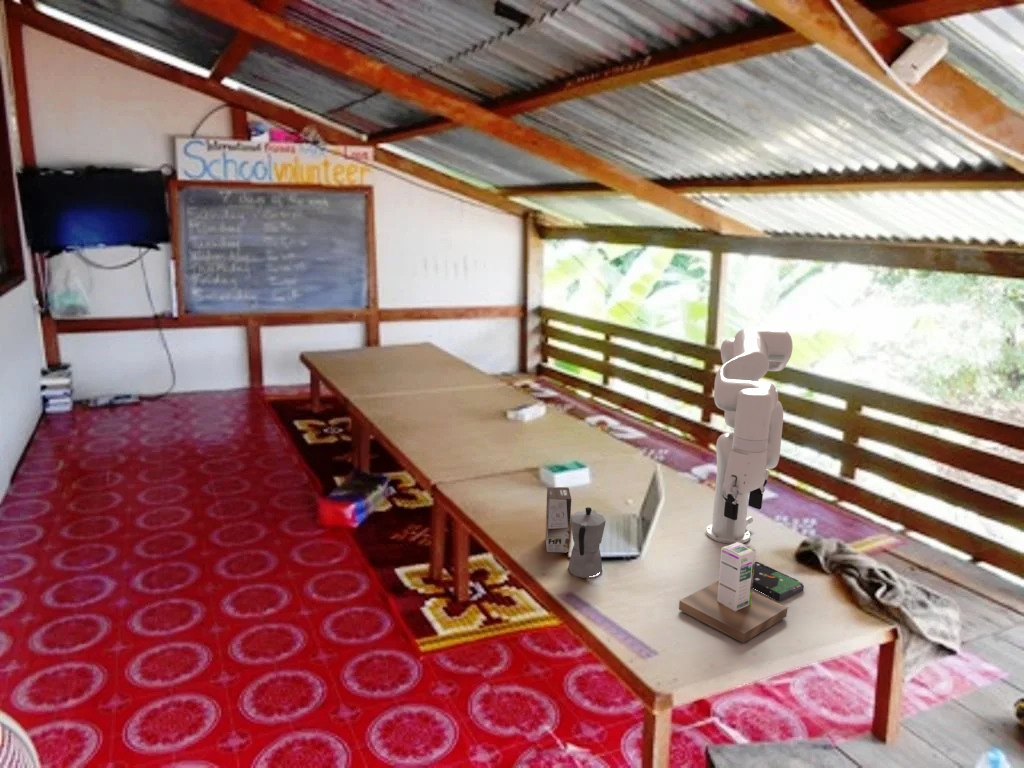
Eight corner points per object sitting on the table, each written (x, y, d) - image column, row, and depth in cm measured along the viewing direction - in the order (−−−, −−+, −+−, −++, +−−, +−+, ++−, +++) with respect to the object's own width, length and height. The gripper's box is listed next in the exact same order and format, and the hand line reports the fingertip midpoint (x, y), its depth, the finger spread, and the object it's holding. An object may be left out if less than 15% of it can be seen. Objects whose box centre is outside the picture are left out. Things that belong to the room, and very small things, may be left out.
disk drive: (731, 580, 204) (780, 604, 193) (732, 571, 203) (781, 594, 192) (755, 570, 210) (804, 592, 199) (756, 560, 209) (805, 582, 198)
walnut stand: (722, 588, 198) (723, 578, 198) (786, 618, 185) (787, 607, 184) (678, 611, 187) (679, 600, 186) (742, 645, 174) (744, 633, 173)
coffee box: (569, 553, 216) (571, 499, 212) (546, 552, 216) (548, 498, 212) (567, 538, 225) (569, 486, 221) (544, 538, 225) (546, 486, 221)
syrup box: (735, 612, 182) (741, 555, 178) (715, 601, 186) (721, 546, 183) (751, 605, 185) (757, 549, 181) (731, 594, 190) (737, 540, 186)
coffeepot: (573, 556, 214) (576, 496, 209) (607, 562, 211) (610, 500, 207) (560, 583, 199) (563, 518, 195) (596, 589, 197) (600, 523, 192)
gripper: (757, 431, 184) (750, 498, 188) (713, 446, 173) (706, 516, 177) (785, 440, 178) (777, 508, 182) (742, 455, 167) (734, 528, 172)
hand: (742, 512), depth 180 cm, fingers open, 9 cm apart
